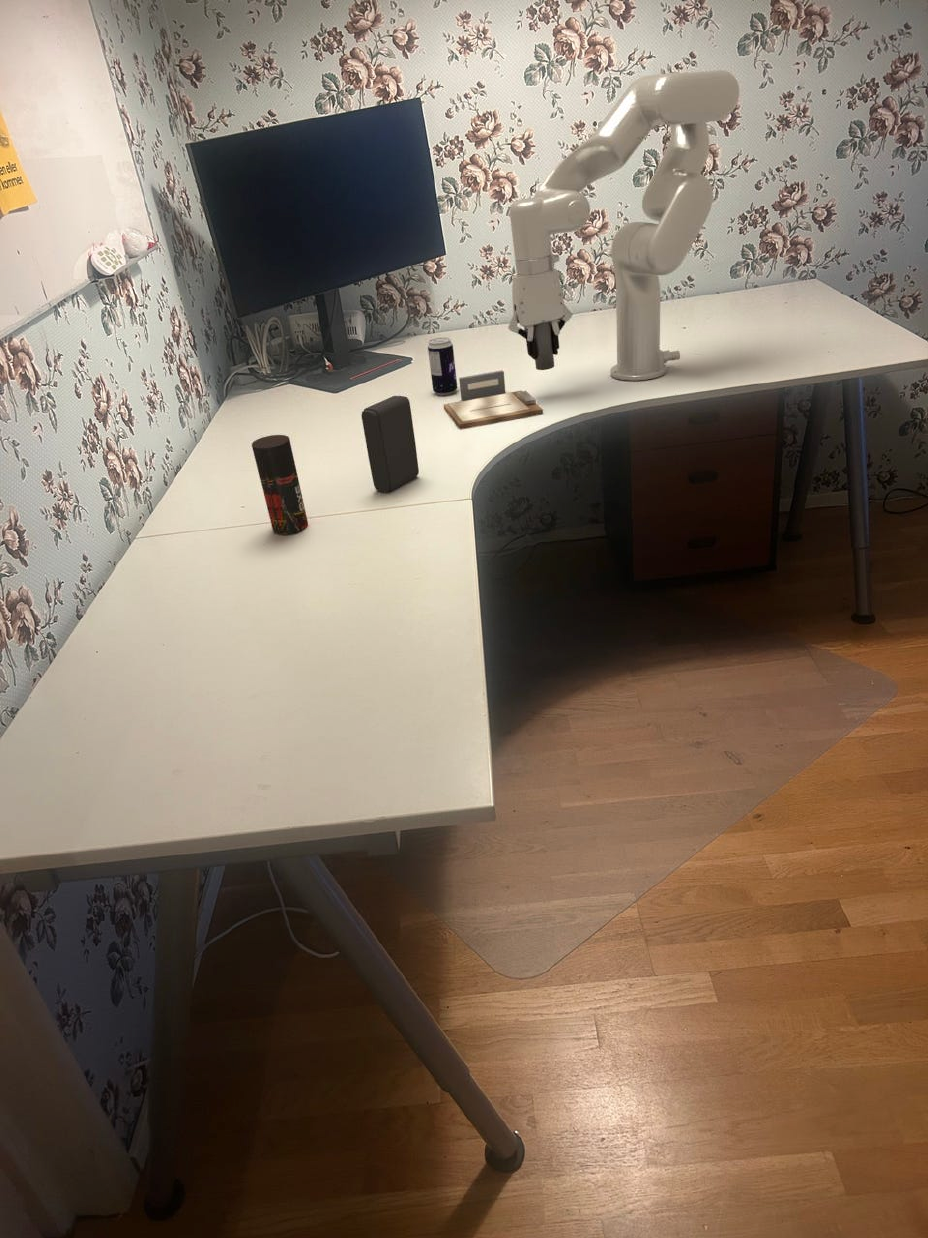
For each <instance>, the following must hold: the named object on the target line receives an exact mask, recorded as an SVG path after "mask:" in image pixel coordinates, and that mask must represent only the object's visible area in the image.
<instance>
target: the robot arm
mask: <svg viewBox="0 0 928 1238" xmlns="http://www.w3.org/2000/svg"><path fill="white" fill-rule="evenodd" d="M739 98H740V86H739V83H738V80H737V79H736V77H735V76H734V75H733V74H732V73H731V72H730V71H727V70H726V69H725V70H723V69H718V70H706V71H695V72H667V73H659V74H651V75H649V74H648V75H644V76H641V77H639V78H637V79H635V80H634V81H633V82H632V83H631V84H630V85H629V86H628V88H627V89H626V90H625V91H624V93H623V94H622V95H621V96H620V98H619V100H618V101H617V102H616V103H615V105H614V106H613V107H612V109H611V110H610V112H609V113H608V114H607V115H606V117H605V118H604V119H603V121H602V122H601V123H600V125H599V126H598V127H597V129H596V130H595V131H594V133H592V135H591V136H590V137H589V138H588V139H586V140H585V141H584V142H582V143H581V144H580V145H578V147H577V148H576V149H574V150H573V151H572V152H571V153H569V154H568V155H567V156H566V157H565V158H564V159H562V161H560V162H559V163H558V164H557V165H556V166H555V167H554V168H553V169H552V171H551V172H550V173H549V174H548V176H547V177H546V178H545V180H544V181H543V182H542V184H541V185H540V187H539V188H538V189H537V191H536V193H535V194H534V196H533V197H527V198H521V199H519V200H516V201H514V202H512V203H511V205H510V208H509V217H510V229H511V235H512V244H513V245H512V246H513V253H514V262H515V263H514V264H515V270H516V274H515V275H513V276H512V285H511V287H512V288H511V289H512V290H511V291H512V312H513V313H512V315H513V316H512V317H511V320H510V322H509V324H508V326H507V327H508V328H507V329H508V330H509V331H510V332H512V333H515V334H518V335H520V336H521V337H522V338H523V339H525V342H526V349H527V350H526V351H527V354H528V356H529V357H530V358H532V359H533V360H534V361H535V359H537V349H536V341H535V340H534V338H533V328H534V325H538V324H540V323H543V322H541V321H542V320H545V322H550V326H551V336H552V346H553V355H555V356H557V355H558V354H559V352H558V350H559V349H560V341H559V335H560V334H561V331H562V329H563V328H564V326H565V325H566V323H567V322H568V321H569V320H571V318H572V317H573V313H572V312H571V311H570V309H569V308H568V307H567V306H566V305H565V301H564V296H563V295H564V294H563V289H562V286H561V285H562V284H561V280H560V276H559V272H558V270H557V268H555V264H556V263H559V262H560V256H559V254H554V253H553V248H552V239H551V236H552V235H554V234H555V235H556V234H565V233H566V234H567V233H572V232H576V231H578V230H580V229H581V228H583V226H584V225H586V223H587V221H588V220H589V218H590V214H591V206H590V202H589V201H588V198H587V197H586V196H585V195H584V194H582V193H581V192H582V191H583V190H584V189H585V188H587V187H588V186H589V185H591V184H592V183H594V182H596V181H598V180H600V179H603V178H605V177H607V176H609V175H611V174H613V173H615V172H617V171H619V170H621V168H623V167H624V166H625V165H626V164H627V162H628V161H629V160H630V158H632V156H633V154H634V153H635V152H636V150H637V149H638V148H639V147H640V145H641V144H642V142H643V141H644V140H645V139H646V137H647V136H648V135H649V134H650V132H651V131H652V130H653V128H654V127H656V126H666V125H668V126H669V127H670V138H669V142H668V145H667V147H666V150H665V152H664V155H663V157H662V158H661V161H660V162H659V164H658V166H657V167H656V170H655V171H654V173H653V175H652V177H651V180H649V183H648V185H647V186H646V189H645V191H644V194H643V196H642V200H641V209H642V212H643V213H644V214H645V216H646V217H648V218H649V219H650V220H651V221H655V222H658V223H654V222H653V223H652V222H645V221H633V222H629V223H626V224H624V225H623V226H621V227H620V228H619V229H618V230H617V232H616V233H615V234H614V236H613V239H612V242H611V248H610V249H611V261H612V266H613V271H614V276H615V277H614V278H615V291H616V296H615V298H616V302H615V303H616V304H615V305H616V308H615V309H616V364H615V365H613V366H612V367H611V368H610V369H609V373H610V377H612V378H615V379H616V380H622V381H629V382H631V381H646V380H650V379H656V378H658V377H662V376H663V375H665V374H666V373H667V365H666V364H667V363H668V362H669V361H677V360H680V359H681V353H680V351H679V350H674V351H670V350H664V351H663V350H661V299H662V296H661V295H662V294H661V293H662V292H661V282H660V278H659V276H667V275H669V274H671V273H673V272H675V271H676V270H677V269H678V268H679V267H680V266H681V264H682V263H683V261H684V260H685V259H686V258H687V257H686V256H687V255H688V254H689V251H690V250H691V248H692V246H693V244H694V243H695V240H696V239H697V237H698V235H699V233H700V231H701V230H702V229H703V226H704V224H705V222H706V221H707V218H708V216H709V214H710V212H711V209H712V205H713V197H714V195H713V194H714V192H713V187H712V184H711V182H710V180H709V179H708V178H707V177H706V176H704V175H703V174H701V172H702V171H703V169H704V167H705V164H706V162H707V159H708V156H709V153H710V136H709V135H710V134H709V129H708V122H709V123H711V122H718V121H719V122H720V121H723V120H724V119H726V118H727V117H729V116H730V114H731V113H733V111H734V109H736V106H737V104H738V101H739ZM518 324H519V325H520V326H521V327H523V328H521V327H520V326H518Z"/></svg>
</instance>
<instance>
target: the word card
mask: <svg viewBox="0 0 928 1238" xmlns="http://www.w3.org/2000/svg"><path fill="white" fill-rule="evenodd" d="M458 379H459V389H460V396H461V397H460V398H461V400H460V401H466V400H471V399H477V398H482V397H488V396H493V395H499V394H505V393H506V383H505V372H504V370H497V371H490V372H486V373H481V374H480V373H479V374H474V375H468V376H462V377H459V378H458Z"/></svg>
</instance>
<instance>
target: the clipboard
mask: <svg viewBox="0 0 928 1238" xmlns="http://www.w3.org/2000/svg"><path fill="white" fill-rule="evenodd" d="M442 406H443V410H444V411H445V412H446V413H447V415H448V414H449V415H448V416H449V417H450V419H451V418H452V419H451V420H452V421H453V423H454V424H455V425H456V426H457V428H458V429H459V430H464V429H468V428H474V427H479V426H480V427H481V426H485V425H491V424H496V423H501V422H507V421H511V420H518V419H524V418H528V417H534V416H535V417H536V416H539V415H543V414H544V409H543V408H542V407H541V406H540V405H539V404H538V403H537V400H536V398H535V397H534V396H532V395H531V394H530V393H529V392H528V391H527V390H524V391H523V390H517V391H511V392H505V394H499V395H493V396H488V397H482V398H477V399H471V400H466V401H462V400H459V401H455V402H450V403H444V404H443V405H442Z"/></svg>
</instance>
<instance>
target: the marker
mask: <svg viewBox="0 0 928 1238" xmlns="http://www.w3.org/2000/svg"><path fill="white" fill-rule="evenodd" d="M541 322H543V323H540V324H538V325H534V328H533V338H534V340H535V341H536V349H537V359H535V360H534V362H535V363H534V364H535V369H536V370H538V371H546V370H550V369H553V368H554V367H555V356H554V354H553V346H552V336H551V326H550V322H545V320H542V321H541Z"/></svg>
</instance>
